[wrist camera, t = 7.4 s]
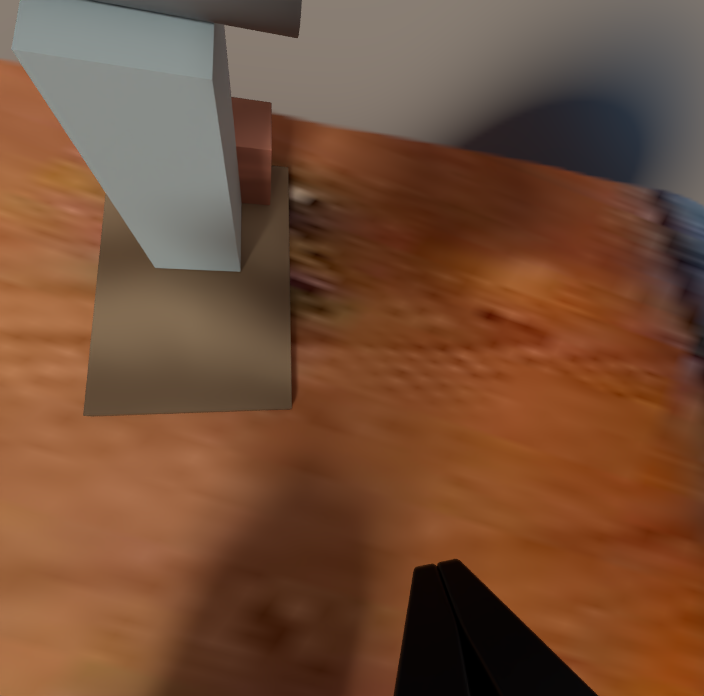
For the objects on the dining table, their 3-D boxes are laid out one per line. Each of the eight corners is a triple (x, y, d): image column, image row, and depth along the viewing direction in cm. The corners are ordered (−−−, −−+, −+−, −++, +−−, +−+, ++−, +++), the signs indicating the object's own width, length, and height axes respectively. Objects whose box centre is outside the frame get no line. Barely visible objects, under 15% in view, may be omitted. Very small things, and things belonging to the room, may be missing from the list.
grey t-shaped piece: (280, 273, 20) (305, 16, 8) (109, 265, 18) (-217, -88, 6) (279, 205, 21) (301, -125, 8) (116, 191, 19) (-156, -255, 7)
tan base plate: (290, 409, 19) (299, 401, 14) (91, 416, 17) (25, 409, 12) (287, 176, 22) (293, 105, 17) (116, 159, 20) (70, 73, 15)
